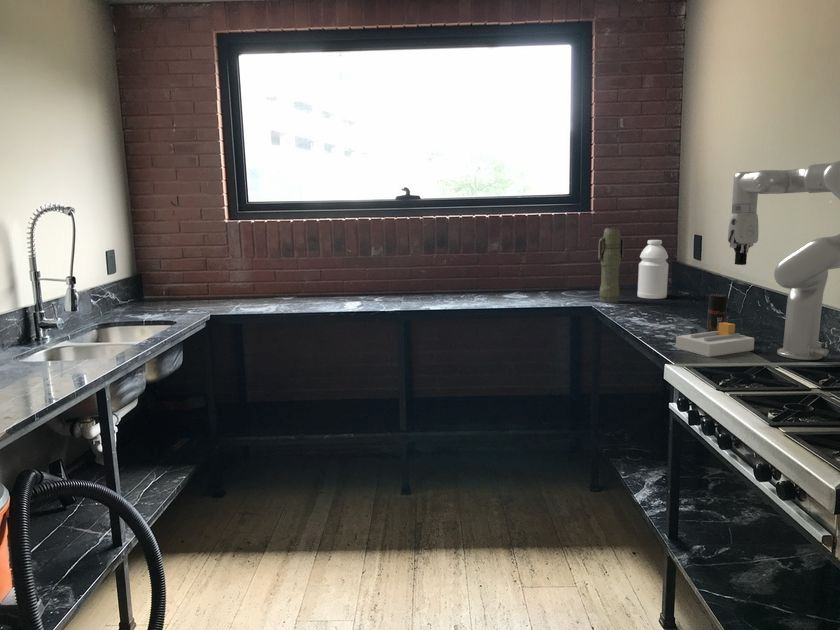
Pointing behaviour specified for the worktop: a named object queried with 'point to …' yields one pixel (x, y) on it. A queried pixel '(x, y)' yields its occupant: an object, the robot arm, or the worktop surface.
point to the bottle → (653, 271)
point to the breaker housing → (714, 343)
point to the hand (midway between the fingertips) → (740, 264)
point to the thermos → (610, 264)
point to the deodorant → (716, 311)
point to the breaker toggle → (726, 328)
